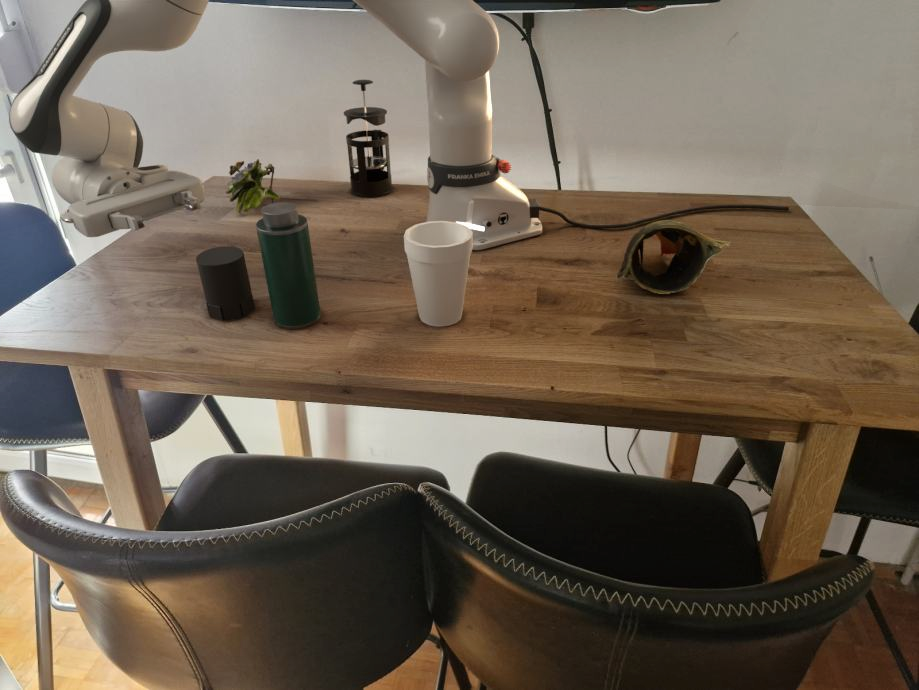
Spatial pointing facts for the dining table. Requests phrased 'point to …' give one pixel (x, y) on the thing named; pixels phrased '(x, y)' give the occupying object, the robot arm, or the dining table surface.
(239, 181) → the passion flower
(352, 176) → the french press
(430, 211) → the robot arm
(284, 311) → the thermos
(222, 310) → the lid
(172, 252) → the dining table surface
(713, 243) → the pot
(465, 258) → the foam cup
